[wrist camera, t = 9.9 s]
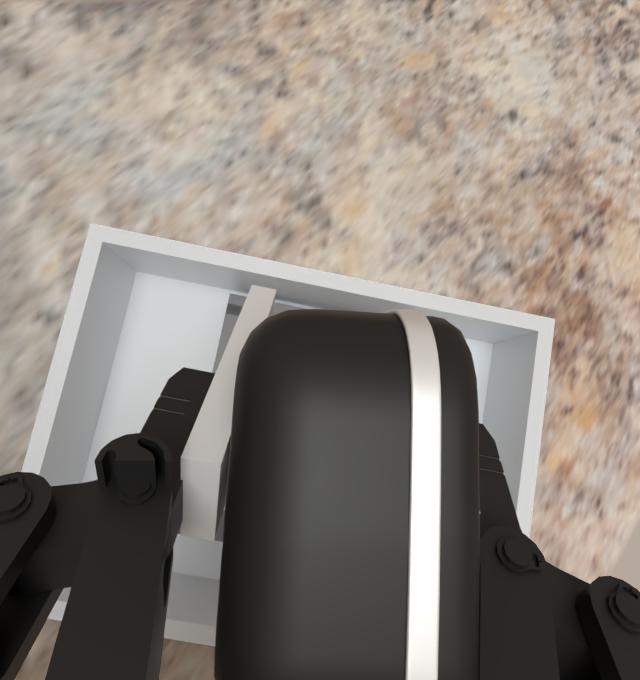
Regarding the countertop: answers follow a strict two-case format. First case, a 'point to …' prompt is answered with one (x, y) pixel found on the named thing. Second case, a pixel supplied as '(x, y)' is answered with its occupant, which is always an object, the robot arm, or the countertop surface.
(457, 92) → the countertop surface
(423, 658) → the battery charger
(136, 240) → the bin
